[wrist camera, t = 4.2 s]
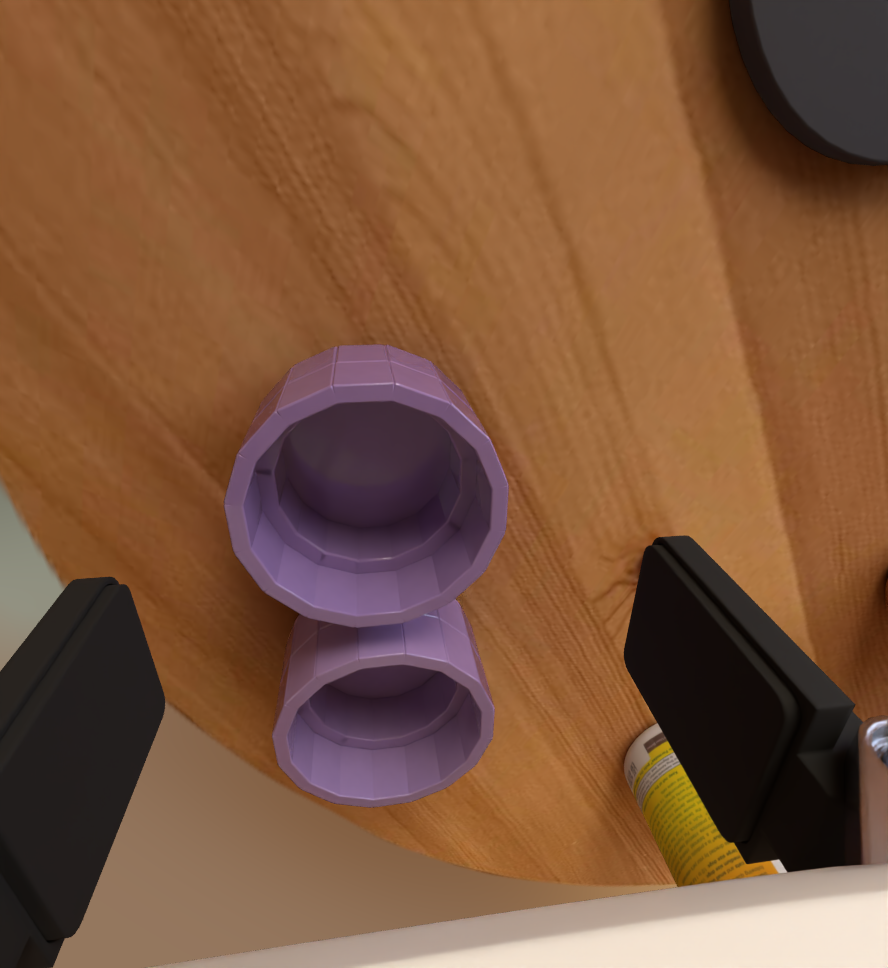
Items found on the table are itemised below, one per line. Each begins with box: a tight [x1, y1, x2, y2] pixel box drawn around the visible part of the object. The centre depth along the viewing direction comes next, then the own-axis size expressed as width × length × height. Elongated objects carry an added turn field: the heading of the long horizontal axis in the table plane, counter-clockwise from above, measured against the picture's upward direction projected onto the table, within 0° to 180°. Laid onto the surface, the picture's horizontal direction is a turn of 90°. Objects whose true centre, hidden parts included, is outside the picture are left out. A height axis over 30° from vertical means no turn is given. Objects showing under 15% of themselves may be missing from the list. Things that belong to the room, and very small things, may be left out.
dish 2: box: [272, 599, 495, 808], centre depth 19 cm, size 7×7×4 cm
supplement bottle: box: [624, 723, 787, 887], centre depth 22 cm, size 6×6×10 cm
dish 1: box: [224, 344, 509, 628], centre depth 15 cm, size 7×7×4 cm
